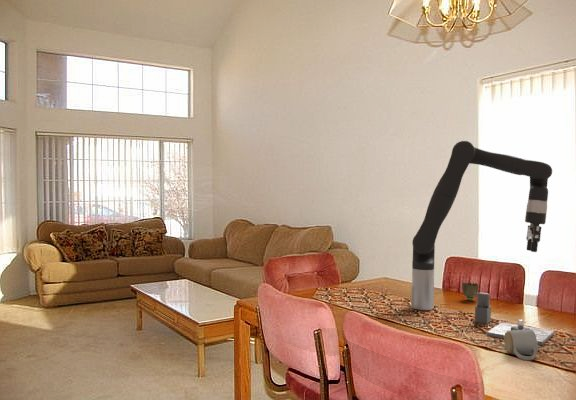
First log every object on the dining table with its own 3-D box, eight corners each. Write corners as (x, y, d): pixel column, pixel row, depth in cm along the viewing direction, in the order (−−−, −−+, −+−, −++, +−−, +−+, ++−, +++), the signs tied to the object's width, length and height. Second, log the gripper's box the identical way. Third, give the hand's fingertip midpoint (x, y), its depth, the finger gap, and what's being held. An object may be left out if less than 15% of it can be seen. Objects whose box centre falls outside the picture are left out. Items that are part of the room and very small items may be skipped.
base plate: (486, 335, 182) (487, 320, 181) (501, 325, 196) (502, 311, 196) (542, 345, 170) (542, 329, 170) (553, 334, 184) (554, 319, 184)
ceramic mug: (502, 349, 165) (503, 326, 165) (528, 350, 165) (529, 326, 164) (514, 361, 155) (515, 335, 154) (542, 362, 154) (543, 336, 154)
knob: (474, 321, 201) (475, 293, 200) (478, 319, 204) (479, 291, 204) (486, 323, 198) (487, 294, 198) (490, 321, 201) (491, 292, 201)
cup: (479, 302, 237) (479, 285, 237) (462, 301, 238) (463, 284, 238) (476, 299, 244) (477, 282, 244) (460, 298, 246) (461, 281, 245)
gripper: (523, 211, 218) (518, 248, 218) (529, 210, 204) (524, 250, 204) (542, 213, 216) (537, 251, 216) (550, 212, 202) (545, 253, 202)
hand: (531, 251), depth 210 cm, fingers open, 8 cm apart
